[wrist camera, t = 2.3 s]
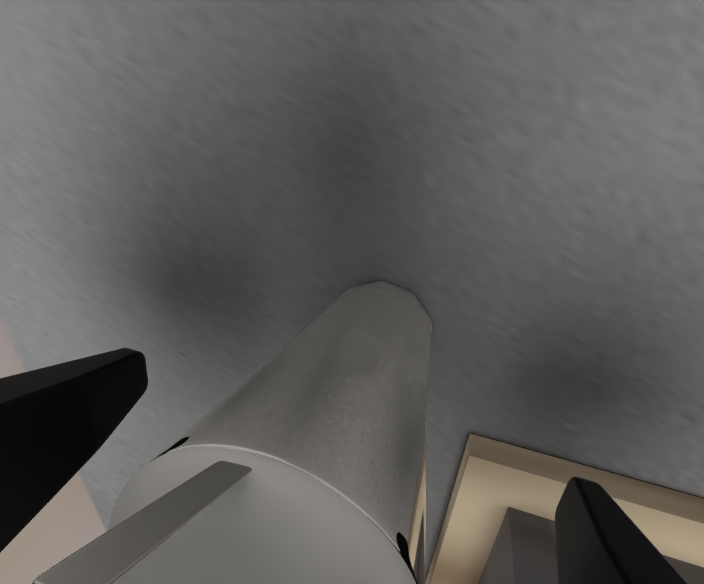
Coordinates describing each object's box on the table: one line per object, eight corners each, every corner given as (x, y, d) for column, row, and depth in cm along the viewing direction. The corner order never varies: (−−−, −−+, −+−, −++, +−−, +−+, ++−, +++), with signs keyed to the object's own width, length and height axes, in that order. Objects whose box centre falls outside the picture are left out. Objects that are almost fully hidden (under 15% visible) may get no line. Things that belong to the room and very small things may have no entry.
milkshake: (465, 237, 11) (416, 734, 2) (448, 398, 13) (386, 1006, 4) (310, 228, 12) (-168, 508, 3) (317, 377, 14) (41, 806, 5)
